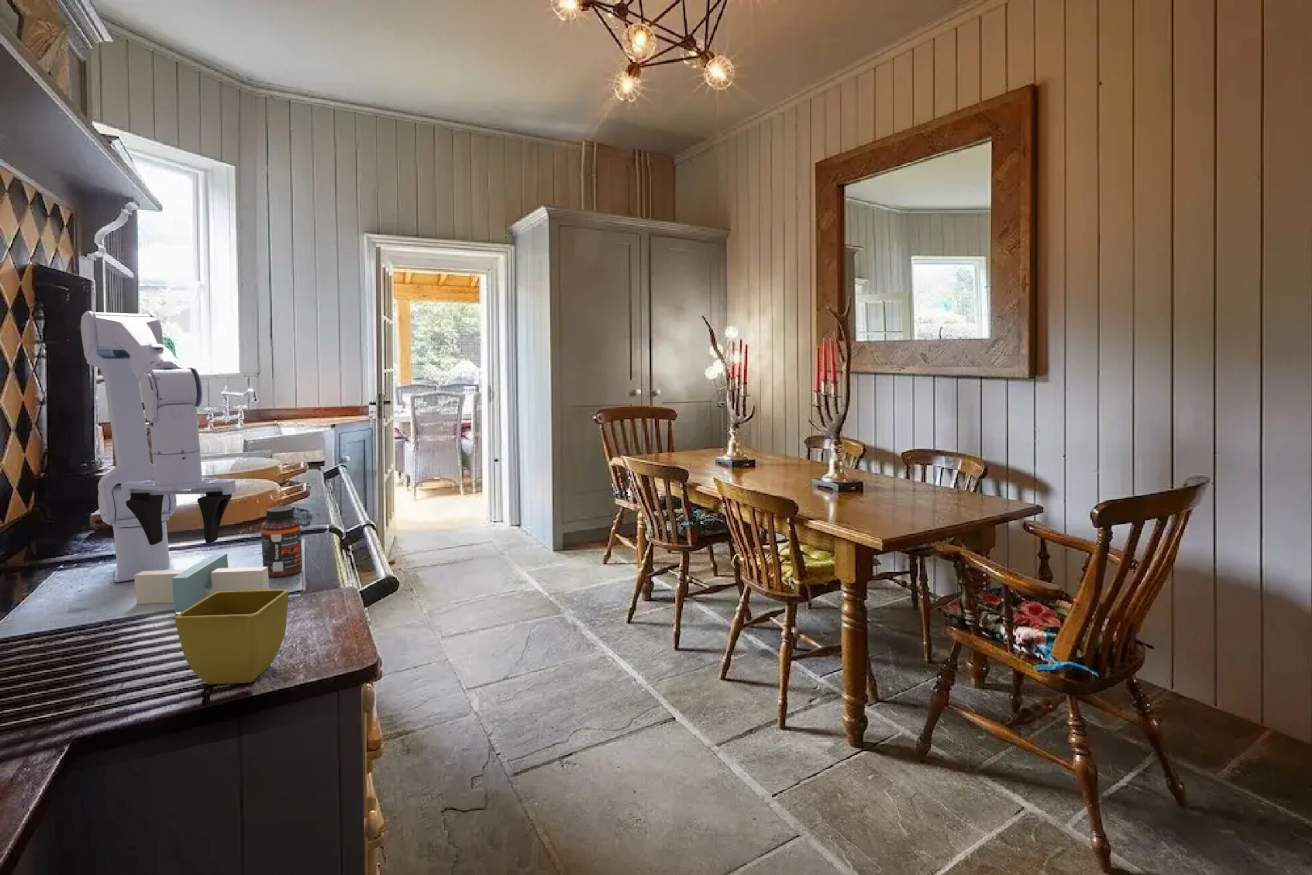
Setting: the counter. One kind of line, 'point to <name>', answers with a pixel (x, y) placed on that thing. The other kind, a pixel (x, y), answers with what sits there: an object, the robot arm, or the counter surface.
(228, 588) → the cream rail
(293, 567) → the supplement bottle
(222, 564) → the teal notched block
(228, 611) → the flower pot
